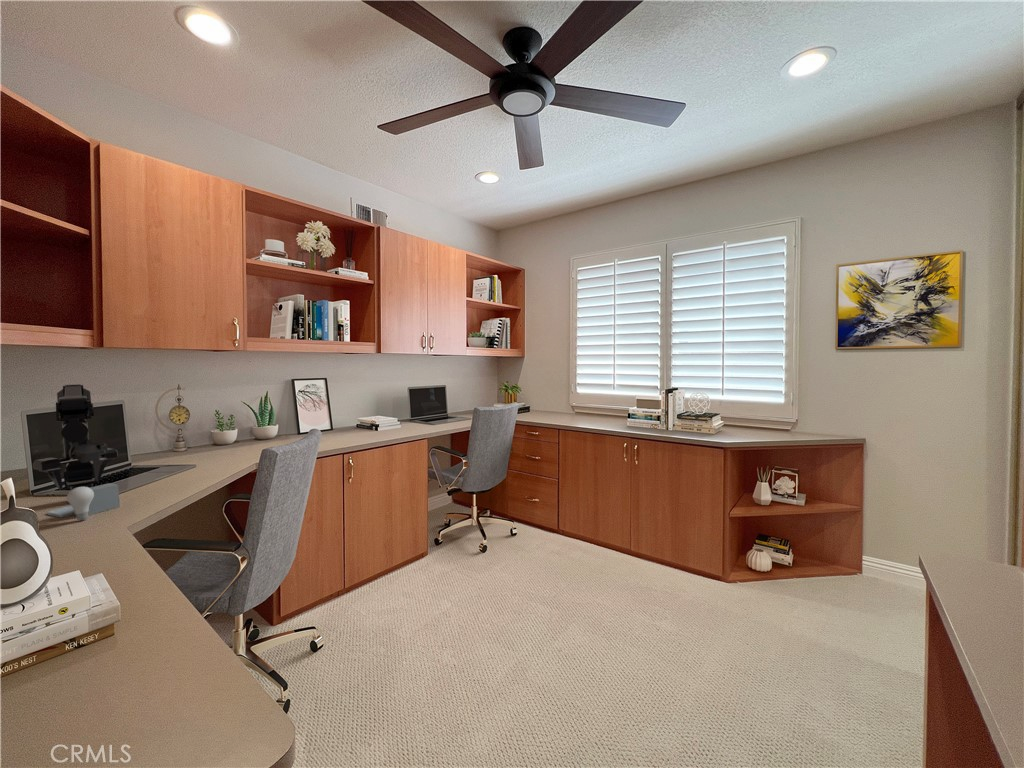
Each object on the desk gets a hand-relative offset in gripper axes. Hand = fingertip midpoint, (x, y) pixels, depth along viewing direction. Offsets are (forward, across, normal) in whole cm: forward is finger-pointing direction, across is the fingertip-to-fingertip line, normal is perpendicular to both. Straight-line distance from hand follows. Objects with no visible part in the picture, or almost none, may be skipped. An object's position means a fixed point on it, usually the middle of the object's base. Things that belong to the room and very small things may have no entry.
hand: (79, 485), depth 137 cm
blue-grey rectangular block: (+12, +7, +6) cm, 15 cm away
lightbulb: (+12, 0, 0) cm, 12 cm away
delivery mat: (+12, +4, +15) cm, 19 cm away
